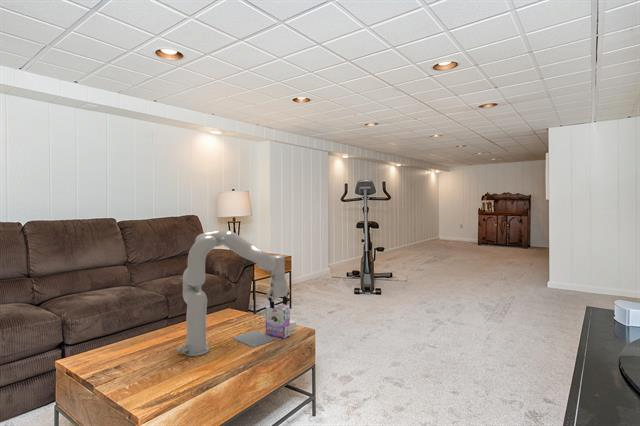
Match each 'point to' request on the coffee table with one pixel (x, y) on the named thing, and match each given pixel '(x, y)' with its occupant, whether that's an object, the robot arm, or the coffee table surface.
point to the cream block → (292, 325)
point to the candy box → (278, 321)
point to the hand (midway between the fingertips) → (278, 306)
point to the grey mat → (254, 338)
